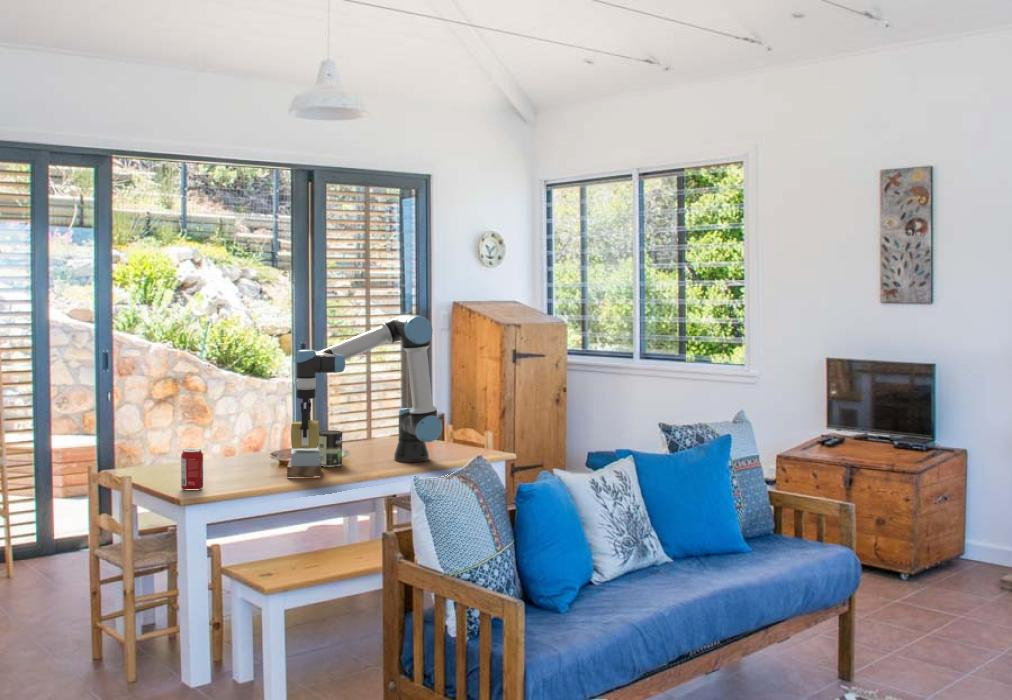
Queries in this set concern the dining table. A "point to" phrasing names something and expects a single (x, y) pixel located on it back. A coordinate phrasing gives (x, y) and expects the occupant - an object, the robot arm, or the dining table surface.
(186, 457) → the soda can
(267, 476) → the dining table surface
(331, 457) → the coffee can
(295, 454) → the tower top
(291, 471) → the tower base
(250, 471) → the dining table surface
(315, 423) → the olive yellow cube
